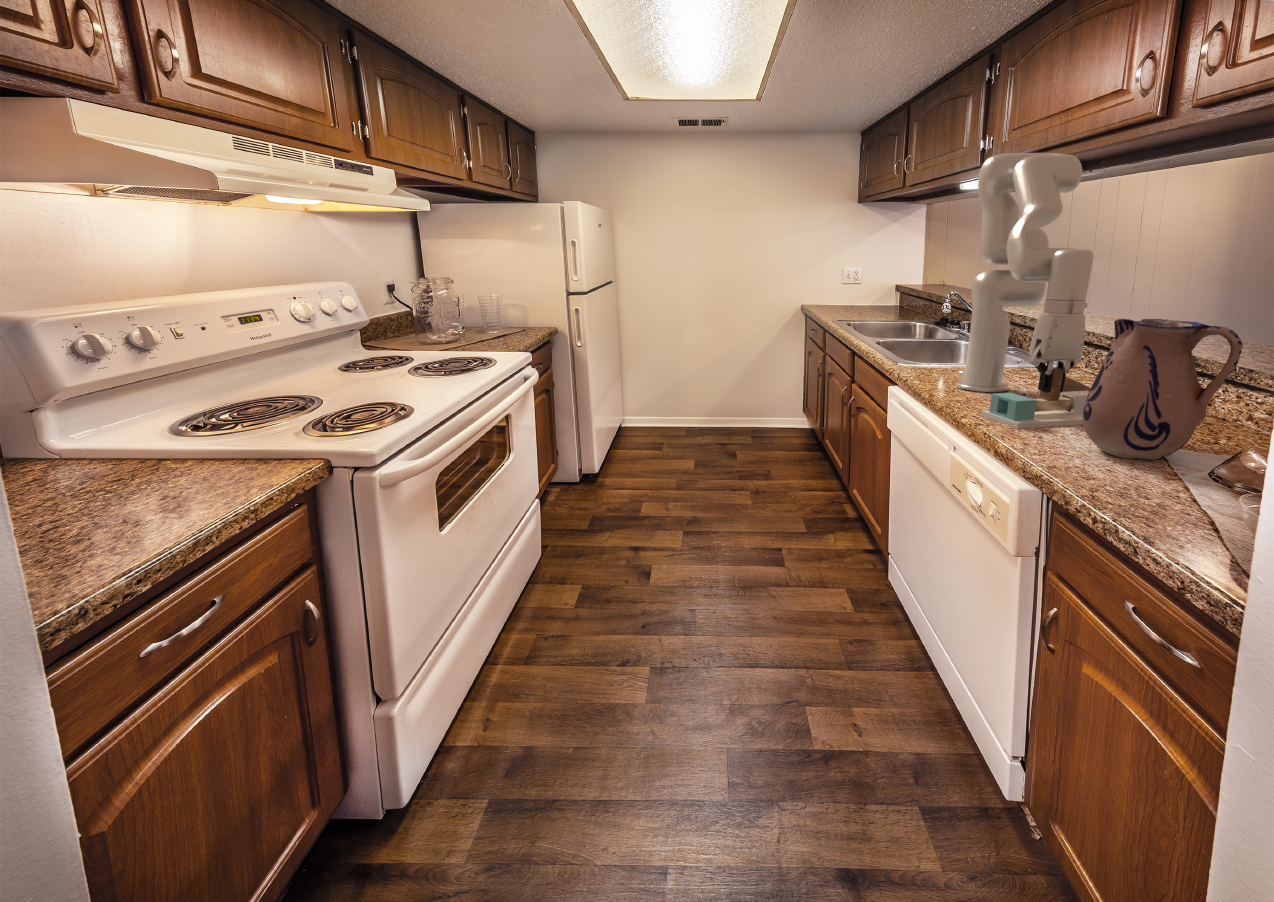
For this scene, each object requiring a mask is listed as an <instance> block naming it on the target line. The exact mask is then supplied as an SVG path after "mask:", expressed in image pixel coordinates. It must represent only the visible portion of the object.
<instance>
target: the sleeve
mask: <svg viewBox="0 0 1274 902" xmlns="http://www.w3.org/2000/svg"><path fill="white" fill-rule="evenodd" d="M1088 393H1089V391H1073V392H1061V394H1060V397H1071V398H1073V403H1072V408H1071V410H1058V411H1060V412H1064V413H1067V414H1070V415H1083V409H1084V405H1085V402H1086V399H1087V396H1088Z"/></svg>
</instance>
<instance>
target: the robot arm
mask: <svg viewBox="0 0 1274 902" xmlns="http://www.w3.org/2000/svg"><path fill="white" fill-rule="evenodd" d="M1082 176H1083V166H1082V163H1081V161H1080V159H1079V158H1078V157H1077V156H1076V155H1074V154H1066V153H1065V154H1064V153H1059V152H1058V153H1056V152H1009V153H1008V152H1007V153H1000V154H996V155H993V156H990V157H988V158H987V159H986V160H985V161H984V162H983V163H982V166H981V168H980V171H979V175H978V183H977V185H978V187H977V188H978V189H977V190H978V195H979V201H980V205H981V211H982V214H981V215H982V217H981V230H980V231H981V233H980V249H979V250H980V258H981V261H982V262H983V263H984V264H986V265H991V266H992V265H994V266H1008V268H1009V269H991V270H984V271H982V272H980V273H979V274H977V275H976V276H975V277H974V279H973V281H972V284H971V305H972V306H971V307H972V309H971V322H970V329H969V337H968V344H967V345H968V346H967V352H966V361H965V365H964V366H965V368H964V369H963V370H959V371H958V372H957V373H958V375H959V376H961V377H962V378H961V380H958V381H957V383H956V386H957V387H958V388H959V389H963V390H965V389H966V391H972V392H979V393H980V392H981V393H1003V392H1005V391H1007V390H1008V388H1009V387H1008V384H1007V383H1003V376H1004V370H1005V364H1006V359H1007V358H1006V356H1007V351H1008V344H1009V338H1010V337H1009V336H1010V332H1011V331H1010V329H1011V322H1010V319H1009V317H1008V315H1007V314H1006V312H1005V311H1004V308H1025V307H1026V308H1028V307H1030V308H1031V307H1034V306H1036V305H1039V304H1040V303H1041V302H1042V300H1043V299H1044V295H1046V296H1045V302H1044V307H1043V313H1040V314H1039V316H1038V318H1037V321H1036V323H1035V327H1034V329H1033V333H1032V338H1031V342H1030V346H1029V351H1028V355H1029V359H1028V363H1029V364H1031V365H1032V366H1035V368H1036V370H1037V372H1038V374H1039V379H1038V386H1037V390H1038V391H1039V392H1040V391H1043V392H1047V393H1049V392H1050V391H1051V387H1052V381H1053V375H1051V373H1052V368H1053V367H1054V364H1055V368H1059V369H1063V370H1064V371H1063V377H1062V383H1061V388H1060V392H1062V391H1063V388H1064V382H1065V377H1067V374H1069V373H1070V370H1071V369H1072V368H1073V367H1074V366H1076V365H1077V364H1079V363H1081V362H1082V359H1083V358H1082V353H1083V349H1084V344H1085V336H1086V315H1085V313H1084V312H1085V309H1087V306H1088V303H1087V296H1088V292H1089V291H1088V290H1089V286H1090V278H1091V274H1092V268H1093V263H1094V262H1093V261H1094V252H1093V251H1092V250H1090V249H1087V248H1073V247H1049V245H1050V244H1049V238H1048V236H1047V233H1046V232H1045V230H1043V229H1042V228H1044V227H1046V226H1048V225H1050V224H1051V223H1053V222H1054V221H1056V220H1057V219H1058V218H1059V217H1060V215H1061V214H1062V212H1063V209H1064V207H1063V201H1062V197H1061V195H1060V194H1062V193H1063V194H1065V193H1066V194H1067V193H1070V192H1073V191H1074V190H1075V189H1077V187H1078V186H1079V185H1080V183H1081V180H1082ZM1008 190H1014V192H1015V197H1016V200H1017V201H1016V200H1015V198H1014V197H1013V195H1011V193H1010V192H1009V191H1008ZM1019 215H1020V218H1019ZM1047 283H1048V284H1047ZM1046 285H1047V286H1046ZM1046 287H1047V289H1046ZM1045 292H1046V294H1045ZM1054 361H1055V362H1056V363H1054Z"/></svg>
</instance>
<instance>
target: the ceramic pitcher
mask: <svg viewBox="0 0 1274 902" xmlns="http://www.w3.org/2000/svg"><path fill="white" fill-rule="evenodd" d="M1113 323H1114V336H1113V339H1112V342H1111V346H1110V349H1109V351H1108V353H1107V355H1106V357H1105V359H1104V361H1103V363H1102V366H1101V367H1100V369H1099V371H1098V372H1097V375H1096V377H1095V378H1094V380H1093V383H1092V385H1091V387H1090V388H1091V389H1090V391H1089V393H1088V396H1087V399H1086V402H1085V405H1084V409H1083V428H1084V430H1085V433H1086V435H1087V437H1088V439H1090V440H1091V442H1093V444H1094V445H1095V446H1096V448H1099V450H1101V451H1102V452H1104V453H1106V454H1110V455H1112V456H1116V457H1119V458H1123V459H1144V460H1150V461H1151V460H1153V461H1155V460H1157V459H1162V458H1164V457H1168V456H1170V455H1172V454H1173V453H1176V452H1177V451H1178V450H1180V449H1182V448H1183V447H1184V446H1185V445H1186V444H1187V443H1188V442H1189V441H1190V440H1191V438H1192V437H1193V436H1194V433H1195V431H1196V429H1197V427H1198V426H1200V424H1202V423H1203V421H1204V420H1205V418H1206V417H1207V407H1208V405H1209V402H1210V400H1211V399H1212V397H1214V395H1215V394H1216V393H1217V392H1218V391H1219V389H1220V388H1221V387H1222V386H1223V385H1224V384H1225V382H1226V381H1227V379H1228V378H1229V377H1230V375H1231V374H1232V372H1233V371H1234V370H1235V368H1236V366H1237V365H1238V364H1239V362H1240V359H1241V354H1242V350H1243V347H1244V345H1243V342H1242V340H1241V338H1240V336H1239V334H1237V332H1235V330H1233V329H1231V328H1228V327H1227V326H1226V327H1225V326H1219V325H1208V324H1205V323H1201V322H1198V321H1187V320H1186V321H1183V320H1174V319H1173V320H1171V319H1163V318H1143V319H1141V320H1133V319H1129V318H1119V319H1115V320H1114V322H1113ZM1209 336H1220V337H1223V338H1224V339H1225V340H1227V342H1228V344H1229V346H1230V352H1229V354H1228V356H1227V357H1228V358H1227V360H1226V362H1225V364H1224V365H1223V366H1222V368H1221V370H1220V371H1219V373H1218V374H1217V375H1215V377H1214V378H1213V379H1212V380H1211V381H1210V382H1209V383H1208V384H1207V385H1206V387H1202V385H1201V383H1200V382H1199V377H1198V374H1197V369H1196V363H1195V360H1194V355H1193V350H1194V349H1195V347H1197V345H1198V344H1199V342H1200V341H1202V340H1203V339H1204V338H1206V337H1209Z"/></svg>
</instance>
